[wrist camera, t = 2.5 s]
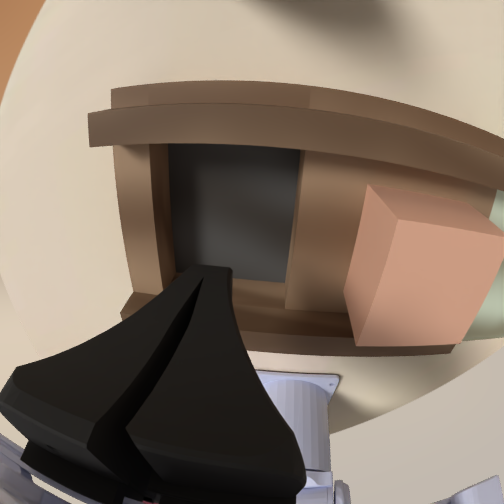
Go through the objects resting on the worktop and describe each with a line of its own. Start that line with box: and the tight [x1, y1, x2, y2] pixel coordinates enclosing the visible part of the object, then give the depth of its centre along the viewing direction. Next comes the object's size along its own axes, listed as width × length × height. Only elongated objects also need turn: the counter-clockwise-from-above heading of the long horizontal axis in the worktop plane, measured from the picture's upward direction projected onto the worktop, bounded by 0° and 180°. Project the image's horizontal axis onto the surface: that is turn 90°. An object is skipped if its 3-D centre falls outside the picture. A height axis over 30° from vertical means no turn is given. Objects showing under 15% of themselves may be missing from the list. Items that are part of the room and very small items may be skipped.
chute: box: [88, 80, 504, 357], centre depth 14 cm, size 14×28×5 cm, turn 87°
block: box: [343, 184, 504, 346], centre depth 12 cm, size 6×6×4 cm
